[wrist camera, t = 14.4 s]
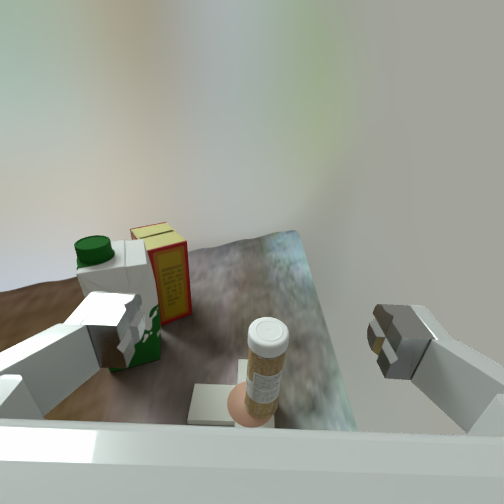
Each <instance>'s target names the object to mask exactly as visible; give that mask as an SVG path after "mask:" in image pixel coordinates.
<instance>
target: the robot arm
mask: <svg viewBox="0 0 504 504" xmlns="http://www.w3.org/2000/svg"><path fill="white" fill-rule="evenodd" d="M141 305H142V299H141V295H139V294H138V293H122V292H104V291H93V292H91V293H90V294H89V295H88V296H87V297H86V298H85V299H84V301H83V302H82V303H81V304H80V305H79V306H78V308H77V309H76V310H75V311H74V312H73V313H72V314H71V316H70V317H69V318H68V319H67V320H66V321H65V322H64V324H57V325H55V326H53V327H51V328H49V329H47V330H45V331H43V332H41V333H39V334H37V335H35V336H33V337H31V338H29V339H27V340H25V341H23V342H21V343H19V344H17V345H15V346H13V347H11V348H9V349H7V350H5V351H3V352H1V353H0V504H504V367H503V366H501V365H500V364H498V363H496V362H494V361H493V360H491V359H489V358H488V357H486V356H484V355H482V354H481V353H479V352H477V351H475V350H474V349H472V348H470V347H469V346H467V345H465V344H463V343H462V342H460V341H456V340H453V339H452V338H451V337H450V336H449V334H448V333H447V332H446V331H445V330H444V328H443V327H442V326H441V325H440V324H439V322H438V321H437V320H436V319H435V318H434V317H433V316H432V314H431V313H430V312H429V311H428V309H427V308H426V307H424V306H422V305H386V304H377V305H376V307H375V309H374V311H373V315H374V316H375V319H374V320H373V321H371V322H370V323H369V326H368V330H367V338H368V343H369V346H370V348H371V350H372V351H373V352H375V353H376V354H377V355H378V359H377V363H378V365H379V367H380V369H381V371H382V373H383V375H384V377H385V378H388V379H403V380H404V379H405V380H411V382H412V383H413V384H415V386H417V387H418V388H419V389H420V390H421V391H422V392H423V393H424V394H425V395H426V396H427V397H428V398H430V399H431V400H432V401H433V402H434V403H435V404H436V405H437V406H438V407H439V408H440V409H441V410H443V411H444V412H445V413H446V414H447V415H448V416H449V417H450V418H451V419H452V420H453V421H454V422H455V423H456V424H457V425H459V426H460V427H461V428H462V429H463V430H464V431H465V432H466V433H467V435H441V434H440V435H439V434H414V433H386V432H385V433H384V432H357V431H329V430H301V429H275V428H248V427H222V426H195V425H168V424H141V423H114V422H87V421H60V420H45V419H44V417H43V416H45V415H46V414H47V413H48V412H49V411H51V410H52V409H53V408H54V407H55V406H57V405H58V404H59V403H60V402H61V401H63V400H64V399H65V398H66V397H67V396H69V395H70V394H71V393H72V392H73V391H75V390H76V389H77V388H78V387H79V386H80V385H82V384H83V383H84V382H85V381H86V380H88V379H89V378H90V377H91V376H92V375H94V374H95V373H96V372H97V371H98V370H100V368H127V367H128V365H129V363H130V361H131V359H132V357H133V355H134V353H135V348H134V345H135V344H136V343H138V342H139V341H140V340H141V338H142V336H143V333H144V329H145V314H144V313H143V312H142V311H141V310H140V307H141Z"/></svg>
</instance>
